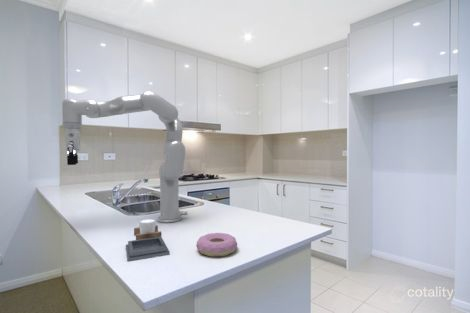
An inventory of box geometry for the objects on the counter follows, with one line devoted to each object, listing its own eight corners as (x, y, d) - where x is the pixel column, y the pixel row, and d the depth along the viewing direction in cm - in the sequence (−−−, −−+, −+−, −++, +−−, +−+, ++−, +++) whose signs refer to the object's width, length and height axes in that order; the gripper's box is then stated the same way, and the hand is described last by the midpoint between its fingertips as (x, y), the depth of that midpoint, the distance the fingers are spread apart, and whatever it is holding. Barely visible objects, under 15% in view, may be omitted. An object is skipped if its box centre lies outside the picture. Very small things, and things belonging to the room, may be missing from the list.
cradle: (162, 241, 107) (162, 235, 107) (169, 254, 94) (169, 247, 94) (125, 247, 101) (125, 240, 101) (127, 261, 88) (127, 254, 88)
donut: (220, 240, 109) (220, 228, 109) (245, 251, 98) (245, 238, 98) (188, 249, 99) (188, 236, 99) (212, 263, 88) (212, 248, 87)
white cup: (146, 240, 108) (146, 224, 108) (135, 237, 112) (135, 221, 111) (159, 236, 114) (159, 220, 114) (148, 233, 117) (148, 217, 117)
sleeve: (157, 231, 120) (157, 225, 120) (161, 239, 110) (161, 232, 110) (134, 234, 116) (134, 227, 116) (136, 242, 106) (136, 235, 106)
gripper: (80, 125, 114) (80, 165, 114) (83, 128, 129) (83, 163, 130) (59, 125, 111) (60, 165, 111) (65, 128, 126) (65, 163, 126)
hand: (72, 164), depth 120 cm, fingers open, 9 cm apart
